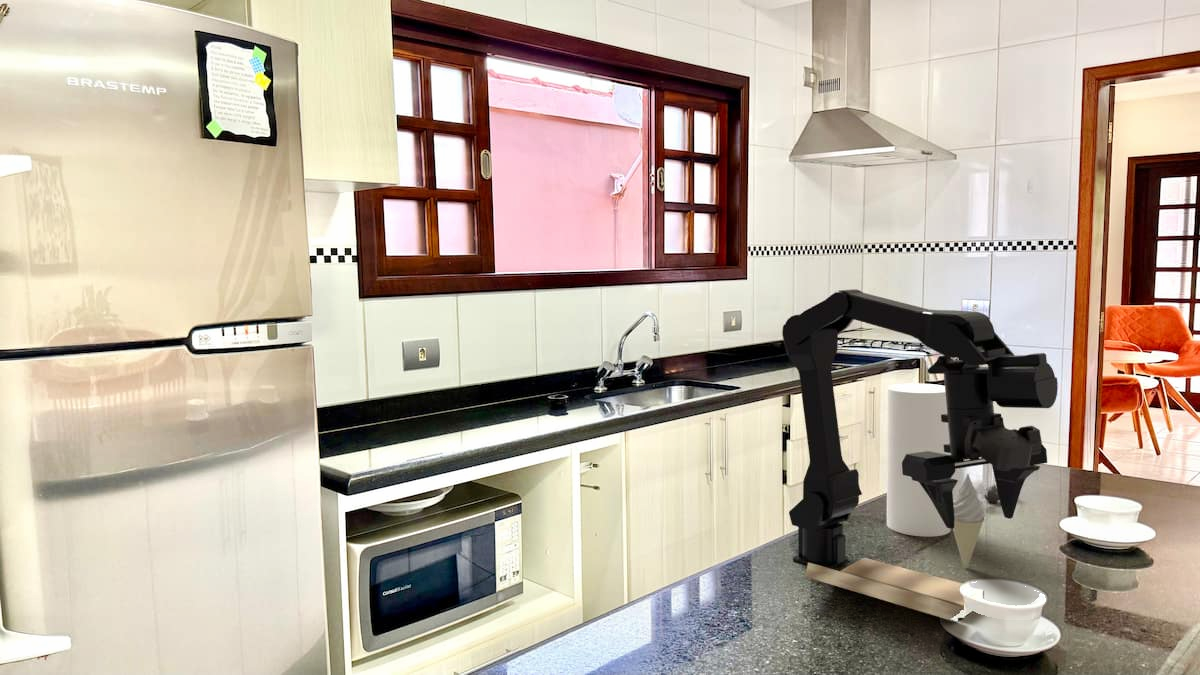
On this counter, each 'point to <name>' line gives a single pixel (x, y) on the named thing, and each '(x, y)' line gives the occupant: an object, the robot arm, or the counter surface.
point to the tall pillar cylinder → (913, 432)
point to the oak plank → (883, 591)
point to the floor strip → (907, 580)
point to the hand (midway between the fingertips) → (979, 523)
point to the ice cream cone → (967, 520)
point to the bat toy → (988, 493)
